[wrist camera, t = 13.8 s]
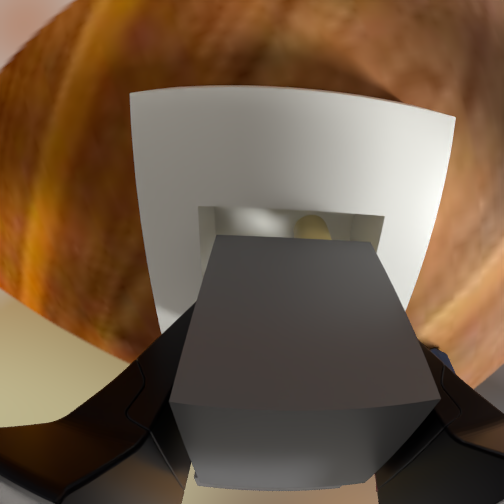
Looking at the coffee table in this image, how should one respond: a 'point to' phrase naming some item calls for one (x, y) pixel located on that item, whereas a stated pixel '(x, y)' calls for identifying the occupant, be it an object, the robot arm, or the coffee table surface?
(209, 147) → the power strip
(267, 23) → the coffee table surface
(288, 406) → the plug
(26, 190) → the coffee table surface
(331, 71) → the coffee table surface
